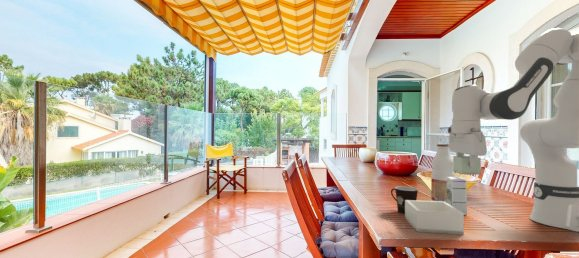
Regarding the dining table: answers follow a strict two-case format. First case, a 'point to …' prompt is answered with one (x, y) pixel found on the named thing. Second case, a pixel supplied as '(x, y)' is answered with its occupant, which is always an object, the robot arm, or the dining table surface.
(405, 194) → the coffee mug
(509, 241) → the dining table surface
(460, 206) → the syrup box
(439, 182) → the fruit juice
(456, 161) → the small crate
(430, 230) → the box
